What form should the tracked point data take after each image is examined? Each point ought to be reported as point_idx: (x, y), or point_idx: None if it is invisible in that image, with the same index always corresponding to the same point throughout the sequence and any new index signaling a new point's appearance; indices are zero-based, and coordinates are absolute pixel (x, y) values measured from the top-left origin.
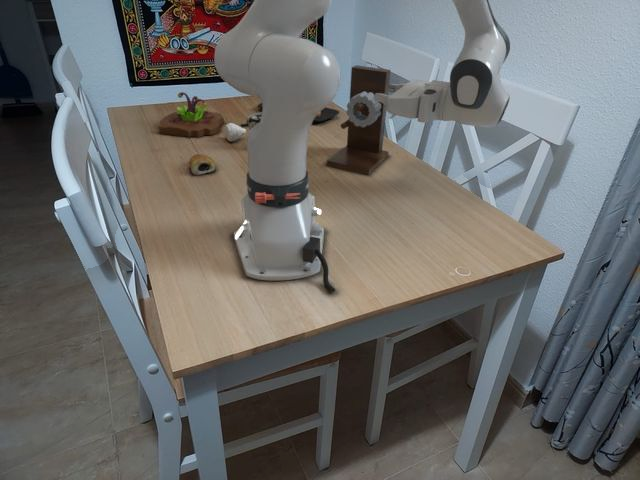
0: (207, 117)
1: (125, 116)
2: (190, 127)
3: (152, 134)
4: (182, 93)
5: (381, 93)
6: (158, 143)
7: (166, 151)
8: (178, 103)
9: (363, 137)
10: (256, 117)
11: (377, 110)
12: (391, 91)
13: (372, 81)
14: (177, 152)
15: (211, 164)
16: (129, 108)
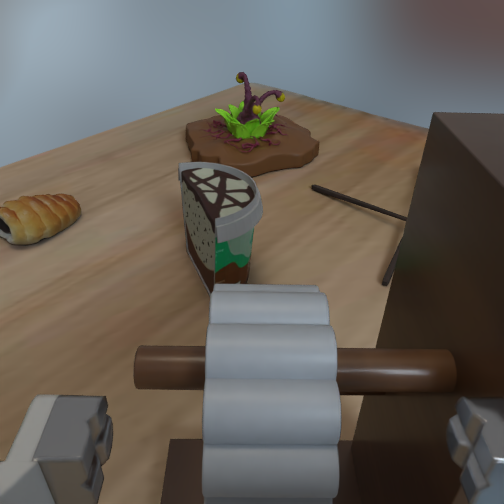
0: (266, 140)
1: (229, 96)
2: (205, 144)
3: (177, 133)
4: (241, 74)
5: (53, 447)
6: (141, 149)
7: (109, 166)
8: (335, 106)
9: (377, 490)
10: (209, 175)
11: (244, 495)
12: (460, 475)
13: (474, 265)
14: (111, 176)
15: (10, 228)
16: (263, 88)
